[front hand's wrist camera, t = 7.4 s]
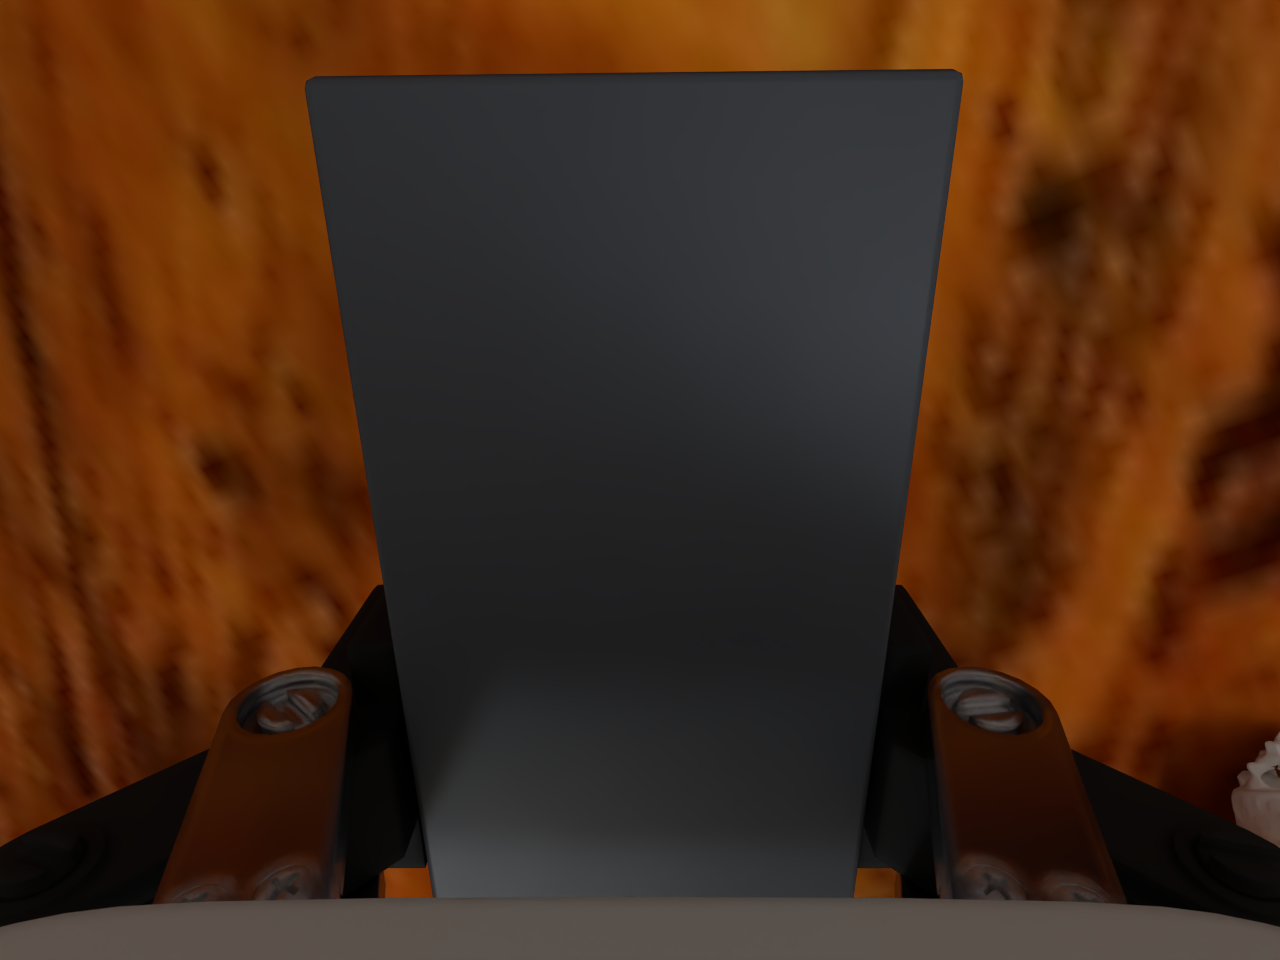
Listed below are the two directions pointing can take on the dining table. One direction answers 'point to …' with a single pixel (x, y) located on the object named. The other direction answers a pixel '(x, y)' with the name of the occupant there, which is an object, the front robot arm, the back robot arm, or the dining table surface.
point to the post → (638, 454)
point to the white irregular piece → (1260, 794)
